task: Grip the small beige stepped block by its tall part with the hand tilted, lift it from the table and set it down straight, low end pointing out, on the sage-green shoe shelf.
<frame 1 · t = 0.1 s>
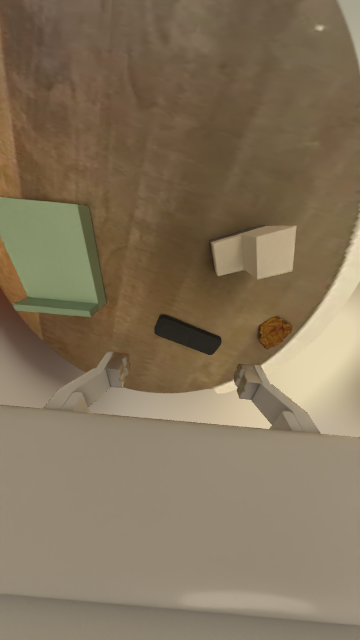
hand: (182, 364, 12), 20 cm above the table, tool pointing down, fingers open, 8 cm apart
leaf: (272, 330, 34), on the table
remote control: (188, 333, 35), on the table
shoe shelf: (62, 258, 28), on the table
beige stepped block: (236, 249, 26), on the table
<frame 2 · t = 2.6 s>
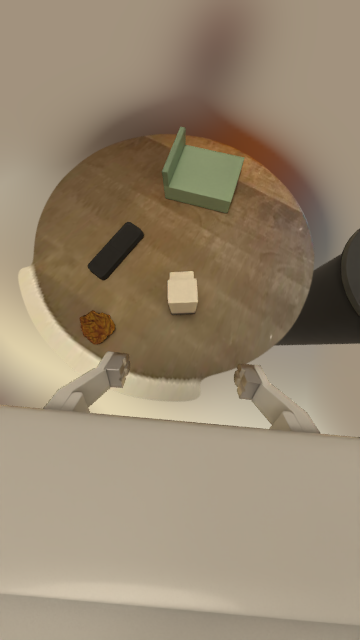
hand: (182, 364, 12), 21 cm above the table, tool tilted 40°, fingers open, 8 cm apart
leaf: (100, 327, 34), on the table
remote control: (118, 252, 37), on the table
shoe shelf: (203, 184, 39), on the table
beige stepped block: (182, 296, 34), on the table
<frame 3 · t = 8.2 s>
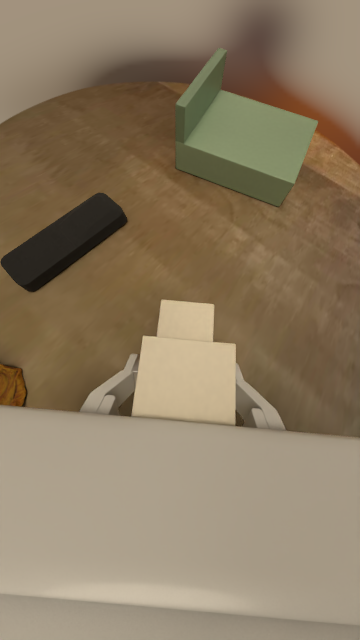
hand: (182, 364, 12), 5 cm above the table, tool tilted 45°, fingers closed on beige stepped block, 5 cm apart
remote control: (73, 244, 20), on the table
shoe shelf: (240, 158, 24), on the table
beige stepped block: (182, 349, 17), on the table, touching gripper
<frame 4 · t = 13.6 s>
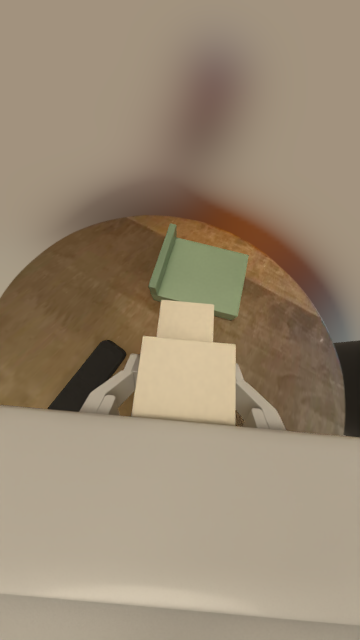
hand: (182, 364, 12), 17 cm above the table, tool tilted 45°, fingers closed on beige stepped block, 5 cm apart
remote control: (90, 381, 27), on the table
shoe shelf: (199, 281, 32), on the table
beige stepped block: (182, 349, 17), point 12 cm above the table, touching gripper
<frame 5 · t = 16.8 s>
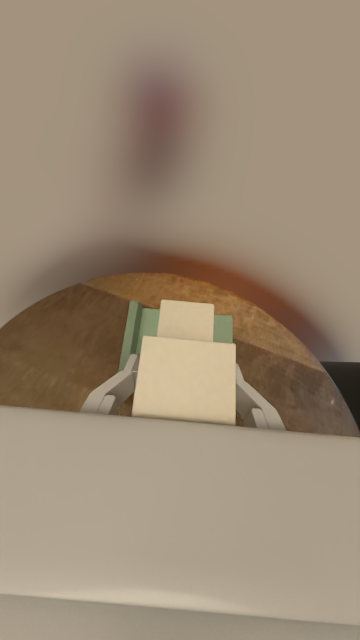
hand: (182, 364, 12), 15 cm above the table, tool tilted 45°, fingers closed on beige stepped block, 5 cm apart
shoe shelf: (180, 352, 27), on the table
beige stepped block: (182, 349, 17), point 10 cm above the table, touching gripper
when the fingers open (8 cm above the table, at t = 19.3 s): beige stepped block stays where it is, resting on shoe shelf.
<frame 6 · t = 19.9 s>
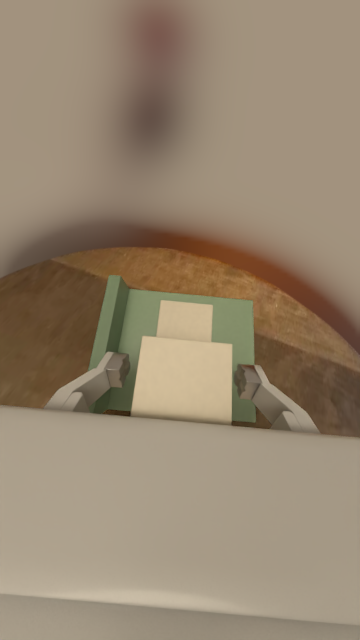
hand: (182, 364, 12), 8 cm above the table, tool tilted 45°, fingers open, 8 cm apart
shoe shelf: (180, 350, 20), on the table
beige stepped block: (181, 349, 17), point 3 cm above the table, touching shoe shelf
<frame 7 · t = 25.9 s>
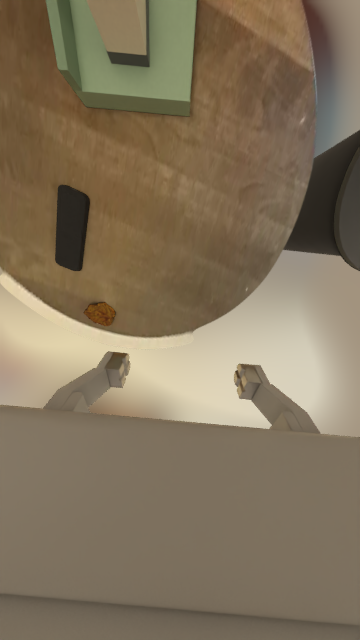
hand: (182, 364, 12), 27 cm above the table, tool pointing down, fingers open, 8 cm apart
leaf: (103, 313, 40), on the table
remote control: (74, 232, 32), on the table
shoe shelf: (135, 39, 21), on the table
beige stepped block: (128, 10, 18), point 3 cm above the table, touching shoe shelf
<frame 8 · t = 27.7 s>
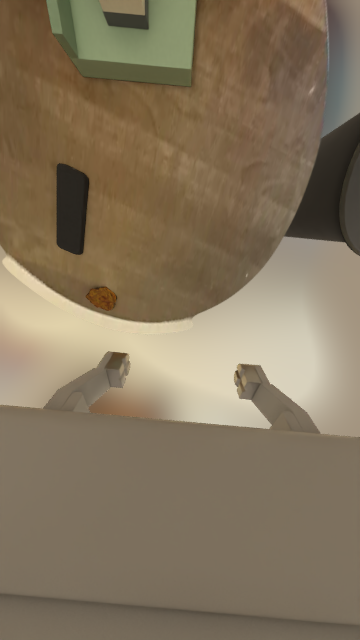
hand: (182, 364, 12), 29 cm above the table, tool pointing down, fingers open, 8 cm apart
leaf: (104, 297, 41), on the table
remote control: (74, 215, 32), on the table
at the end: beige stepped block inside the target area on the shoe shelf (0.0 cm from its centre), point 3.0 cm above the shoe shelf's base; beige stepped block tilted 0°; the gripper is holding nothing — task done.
